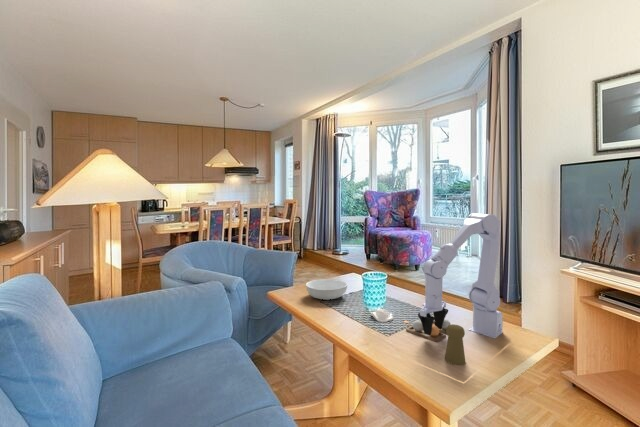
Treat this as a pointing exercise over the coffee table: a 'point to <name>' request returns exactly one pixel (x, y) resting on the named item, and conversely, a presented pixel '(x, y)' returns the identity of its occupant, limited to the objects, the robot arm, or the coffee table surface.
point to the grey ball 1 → (417, 325)
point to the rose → (382, 315)
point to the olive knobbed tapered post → (455, 345)
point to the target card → (406, 322)
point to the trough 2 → (440, 329)
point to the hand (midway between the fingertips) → (433, 331)
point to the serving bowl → (326, 288)
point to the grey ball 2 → (445, 324)
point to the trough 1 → (421, 333)
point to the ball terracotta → (434, 331)
